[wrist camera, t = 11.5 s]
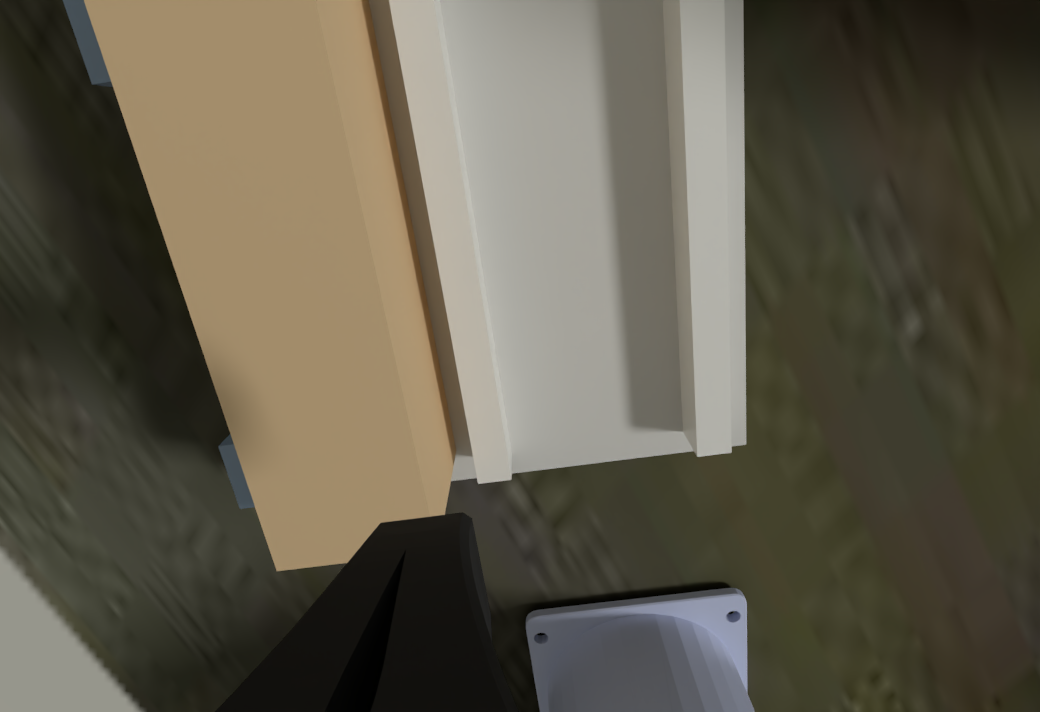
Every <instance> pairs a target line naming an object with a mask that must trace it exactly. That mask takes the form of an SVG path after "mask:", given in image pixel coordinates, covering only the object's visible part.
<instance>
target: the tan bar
mask: <svg viewBox="0 0 1040 712" xmlns="http://www.w3.org/2000/svg"><path fill="white" fill-rule="evenodd" d="M84 2H85V5H86V8H87V11H88V14H89V17H90V20H91V23H92V26H93V29H94V32H95V35H96V38H97V41H98V44H99V47H100V50H101V53H102V56H103V59H104V62H105V65H106V68H107V70H108V73H109V76H110V79H111V82H112V85H113V88H114V91H115V94H116V97H117V100H118V103H119V106H120V109H121V112H122V115H123V118H124V121H125V124H126V127H127V130H128V133H129V136H130V139H131V141H132V144H133V147H134V150H135V153H136V156H137V159H138V162H139V165H140V168H141V171H142V174H143V177H144V180H145V183H146V186H147V189H148V192H149V195H150V198H151V201H152V204H153V207H154V209H155V212H156V215H157V218H158V221H159V224H160V227H161V230H162V233H163V236H164V239H165V242H166V245H167V248H168V251H169V254H170V257H171V260H172V263H173V266H174V269H175V272H176V275H177V277H178V280H179V283H180V286H181V289H182V292H183V295H184V298H185V301H186V304H187V307H188V310H189V313H190V316H191V319H192V322H193V325H194V328H195V331H196V334H197V337H198V340H199V343H200V346H201V348H202V351H203V354H204V357H205V360H206V363H207V366H208V369H209V372H210V375H211V378H212V381H213V384H214V387H215V390H216V393H217V396H218V399H219V402H220V405H221V408H222V411H223V414H224V416H225V419H226V422H227V425H228V428H229V431H230V434H231V437H232V440H233V443H234V446H235V449H236V452H237V455H238V458H239V461H240V464H241V467H242V470H243V473H244V476H245V479H246V482H247V484H248V487H249V490H250V493H251V496H252V499H253V502H254V505H255V508H256V511H257V514H258V517H259V520H260V523H261V526H262V529H263V532H264V535H265V538H266V541H267V544H268V547H269V550H270V553H271V555H272V558H273V561H274V564H275V567H276V570H277V571H283V570H291V569H300V568H308V567H316V566H325V565H333V564H341V563H348V562H349V560H350V559H351V558H352V557H353V555H354V554H355V553H356V552H357V551H358V549H359V548H360V547H361V546H362V544H363V543H364V542H365V541H366V540H367V538H368V537H369V536H370V535H371V534H372V532H373V531H374V530H375V529H376V528H377V527H378V525H379V524H380V523H383V522H391V521H399V520H407V519H415V518H423V517H431V516H439V515H445V510H446V505H447V499H448V494H449V488H450V483H451V477H452V472H453V466H454V461H455V455H456V446H455V441H454V436H453V431H452V426H451V420H450V415H449V410H448V405H447V400H446V395H445V390H444V385H443V379H442V374H441V369H440V364H439V359H438V354H437V349H436V344H435V338H434V333H433V328H432V323H431V318H430V313H429V308H428V303H427V297H426V292H425V287H424V282H423V277H422V272H421V267H420V261H419V256H418V251H417V246H416V241H415V236H414V231H413V226H412V220H411V215H410V210H409V205H408V200H407V195H406V190H405V185H404V179H403V174H402V169H401V164H400V159H399V154H398V149H397V144H396V138H395V133H394V128H393V123H392V118H391V113H390V108H389V102H388V97H387V92H386V87H385V82H384V77H383V72H382V67H381V61H380V56H379V51H378V46H377V41H376V36H375V31H374V26H373V20H372V15H371V10H370V5H369V0H84Z"/></svg>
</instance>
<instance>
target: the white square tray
mask: <svg viewBox="0 0 1040 712" xmlns="http://www.w3.org/2000/svg"><path fill="white" fill-rule="evenodd" d="M63 3H64V6H65V8H66V11H67V14H68V17H69V20H70V23H71V26H72V29H73V31H74V34H75V37H76V40H77V43H78V46H79V49H80V52H81V54H82V57H83V60H84V63H85V66H86V69H87V72H88V74H89V77H90V80H91V83H92V85H100V86H108V87H113V85H112V82H111V79H110V76H109V73H108V70H107V68H106V65H105V62H104V59H103V56H102V53H101V50H100V47H99V44H98V41H97V38H96V35H95V32H94V29H93V26H92V23H91V20H90V17H89V14H88V11H87V8H86V5H85V2H84V0H63ZM369 5H370V10H371V15H372V20H373V26H374V31H375V36H376V41H377V46H378V51H379V56H380V61H381V67H382V72H383V77H384V82H385V87H386V92H387V97H388V102H389V108H390V113H391V118H392V123H393V128H394V133H395V138H396V144H397V149H398V154H399V159H400V164H401V169H402V174H403V179H404V185H405V190H406V195H407V200H408V205H409V210H410V215H411V220H412V226H413V231H414V236H415V241H416V246H417V251H418V256H419V261H420V267H421V272H422V277H423V282H424V287H425V292H426V297H427V303H428V308H429V313H430V318H431V323H432V328H433V333H434V338H435V344H436V349H437V354H438V359H439V364H440V369H441V374H442V379H443V385H444V390H445V395H446V400H447V405H448V410H449V415H450V420H451V426H452V431H453V436H454V441H455V446H456V455H455V461H454V466H453V472H452V477H451V481H455V480H463V479H471V478H477V481H478V484H481V483H489V482H497V481H505V480H511V474H512V473H520V472H528V471H536V470H544V469H552V468H560V467H569V466H577V465H585V464H593V463H601V462H609V461H617V460H625V459H633V458H641V457H650V456H658V455H666V454H674V453H682V452H690V451H694V452H695V454H696V455H697V457H700V456H708V455H716V454H724V453H732V446H739V445H746V334H745V178H744V22H743V0H369ZM218 447H219V450H220V453H221V456H222V459H223V462H224V465H225V467H226V470H227V473H228V476H229V479H230V482H231V485H232V488H233V490H234V493H235V496H236V499H237V502H238V505H239V508H240V509H243V508H251V507H255V505H254V502H253V499H252V496H251V493H250V490H249V487H248V484H247V482H246V479H245V476H244V473H243V470H242V467H241V464H240V461H239V458H238V455H237V452H236V449H235V446H234V443H233V440H232V437H231V434H229V436H228V437H227V438H226V439H225V440H224V441H223V442H222V443H221V444H220V445H219V446H218Z"/></svg>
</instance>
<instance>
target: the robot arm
mask: <svg viewBox="0 0 1040 712" xmlns="http://www.w3.org/2000/svg"><path fill="white" fill-rule="evenodd" d="M731 611H735V612H734V613H732V614H728V613H729V612H731ZM526 633H527V639H528V645H529V650H530V656H531V662H532V668H533V674H534V680H535V686H536V692H537V698H538V704H539V710H540V712H755V711H754V708H753V706H752V704H751V701H750V699H749V696H748V694H747V602H746V599H745V597H744V595H743V593H742V592H741V591H740V590H739V589H736V588H724V589H715V590H706V591H697V592H689V593H680V594H671V595H663V596H654V597H645V598H636V599H628V600H619V601H610V602H602V603H593V604H584V605H576V606H567V607H558V608H549V609H541V610H535V611H532V612H531V613H529V614H528V615H527V617H526ZM538 633H545V635H542V636H540V635H537V634H538ZM215 712H519V711H518V708H517V706H516V704H515V701H514V699H513V696H512V694H511V691H510V689H509V686H508V684H507V681H506V679H505V676H504V674H503V671H502V668H501V665H500V663H499V660H498V657H497V654H496V652H495V649H494V646H493V643H492V630H491V613H490V608H489V603H488V598H487V593H486V588H485V583H484V578H483V573H482V568H481V562H480V557H479V552H478V547H477V542H476V537H475V532H474V527H473V522H472V518H470V517H469V516H467V515H466V514H465V513H455V514H447V515H439V516H431V517H423V518H415V519H407V520H399V521H391V522H383V523H380V524H379V525H378V527H377V528H376V529H375V530H374V531H373V532H372V534H371V535H370V536H369V537H368V538H367V540H366V541H365V542H364V543H363V544H362V546H361V547H360V548H359V549H358V551H357V552H356V553H355V554H354V555H353V557H352V558H351V559H350V560H349V562H348V563H347V564H346V565H345V566H344V568H343V569H342V570H341V571H340V573H339V574H338V575H337V576H336V577H335V579H334V580H333V581H332V582H331V584H330V585H329V586H328V587H327V588H326V590H325V591H324V592H323V593H322V594H321V596H320V597H319V598H318V599H317V600H316V601H315V603H314V604H313V605H312V606H311V607H310V608H309V610H308V611H307V612H306V613H305V614H304V616H303V617H302V618H301V619H300V620H299V621H298V623H297V624H296V625H295V626H294V627H293V628H292V630H291V631H290V632H289V633H288V634H287V635H286V636H285V637H284V639H283V640H282V641H281V642H280V643H279V644H278V645H277V646H276V647H275V648H274V649H273V650H272V652H271V653H270V654H269V655H268V656H267V657H266V658H265V659H264V660H263V661H262V662H261V663H260V665H259V666H258V667H257V668H256V669H255V670H254V671H253V672H252V673H251V674H250V675H249V676H248V678H247V679H246V680H245V681H244V682H243V683H242V684H241V685H240V686H239V687H238V688H237V689H236V690H235V692H234V693H233V694H232V695H231V696H230V697H229V698H228V699H227V700H226V701H225V702H224V703H223V704H222V705H221V706H220V707H219V708H218V709H217V710H216V711H215Z"/></svg>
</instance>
